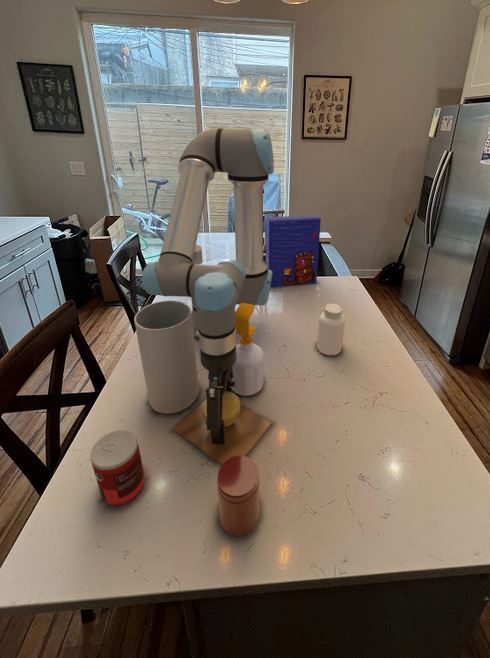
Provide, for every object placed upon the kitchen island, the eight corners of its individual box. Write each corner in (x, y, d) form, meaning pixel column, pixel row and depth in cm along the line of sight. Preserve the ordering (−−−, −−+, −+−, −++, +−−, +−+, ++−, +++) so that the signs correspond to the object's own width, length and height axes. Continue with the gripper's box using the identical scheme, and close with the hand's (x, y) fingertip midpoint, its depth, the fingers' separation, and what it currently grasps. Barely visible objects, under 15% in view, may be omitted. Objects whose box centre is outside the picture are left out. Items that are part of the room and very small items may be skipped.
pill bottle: (341, 358, 101) (346, 316, 95) (315, 354, 102) (318, 313, 97) (342, 342, 108) (346, 302, 102) (317, 338, 110) (321, 299, 104)
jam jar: (211, 519, 60) (207, 480, 56) (237, 485, 65) (235, 447, 61) (242, 545, 56) (240, 506, 52) (266, 507, 62) (267, 469, 58)
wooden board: (173, 429, 77) (173, 428, 76) (215, 392, 87) (215, 390, 87) (232, 472, 68) (232, 471, 67) (271, 424, 78) (271, 422, 78)
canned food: (110, 468, 68) (100, 430, 64) (150, 465, 69) (142, 428, 64) (94, 508, 61) (81, 469, 57) (138, 505, 62) (129, 466, 57)
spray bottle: (268, 376, 93) (269, 301, 83) (255, 400, 85) (254, 320, 75) (239, 368, 96) (237, 295, 86) (224, 391, 88) (220, 312, 78)
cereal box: (311, 277, 152) (316, 214, 141) (316, 283, 147) (320, 218, 135) (265, 281, 147) (266, 216, 136) (268, 287, 142) (269, 220, 130)
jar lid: (248, 408, 77) (248, 401, 76) (222, 434, 70) (222, 427, 69) (220, 391, 81) (220, 385, 80) (194, 415, 74) (193, 408, 74)
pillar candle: (186, 270, 156) (184, 241, 150) (206, 272, 155) (204, 242, 149) (178, 279, 147) (174, 248, 141) (199, 281, 146) (196, 250, 140)
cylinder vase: (147, 385, 89) (133, 306, 79) (194, 373, 94) (186, 296, 84) (150, 422, 78) (134, 335, 69) (203, 406, 83) (195, 322, 73)
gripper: (212, 316, 78) (217, 389, 87) (183, 382, 59) (193, 467, 67) (244, 318, 78) (245, 391, 87) (225, 384, 58) (229, 470, 67)
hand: (222, 424), depth 77 cm, fingers closed on jar lid, 8 cm apart
